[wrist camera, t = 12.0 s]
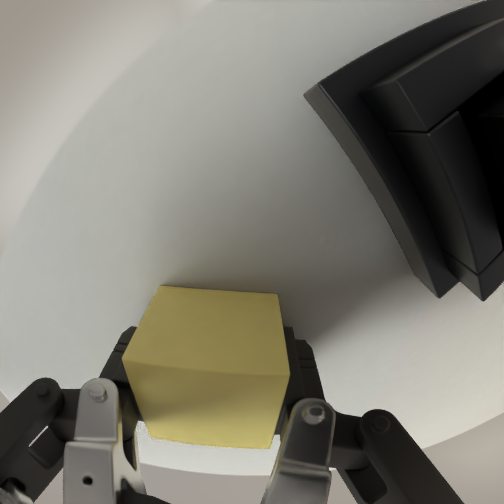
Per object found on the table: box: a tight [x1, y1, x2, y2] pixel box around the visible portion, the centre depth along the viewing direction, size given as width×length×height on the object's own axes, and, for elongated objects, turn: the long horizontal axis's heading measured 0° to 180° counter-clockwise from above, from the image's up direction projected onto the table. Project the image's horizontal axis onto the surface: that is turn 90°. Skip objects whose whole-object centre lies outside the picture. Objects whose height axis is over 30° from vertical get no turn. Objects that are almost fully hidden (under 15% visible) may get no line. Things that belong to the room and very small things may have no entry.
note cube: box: [122, 286, 290, 449], centre depth 9 cm, size 4×4×4 cm
